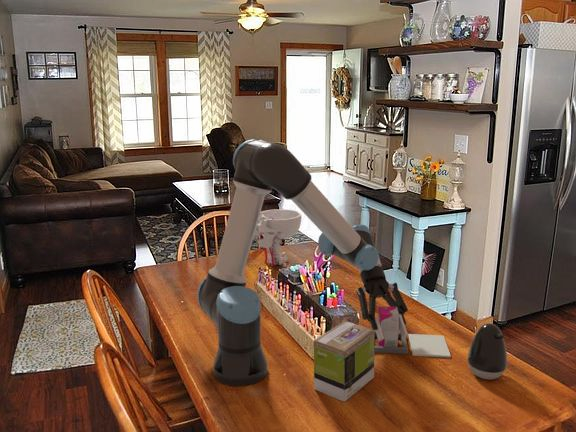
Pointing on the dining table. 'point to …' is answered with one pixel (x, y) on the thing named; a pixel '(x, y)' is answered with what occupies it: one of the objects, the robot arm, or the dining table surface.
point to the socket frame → (393, 349)
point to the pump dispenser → (488, 352)
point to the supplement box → (389, 326)
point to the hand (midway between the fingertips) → (393, 337)
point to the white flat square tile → (428, 345)
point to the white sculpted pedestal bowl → (276, 232)
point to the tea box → (344, 360)
